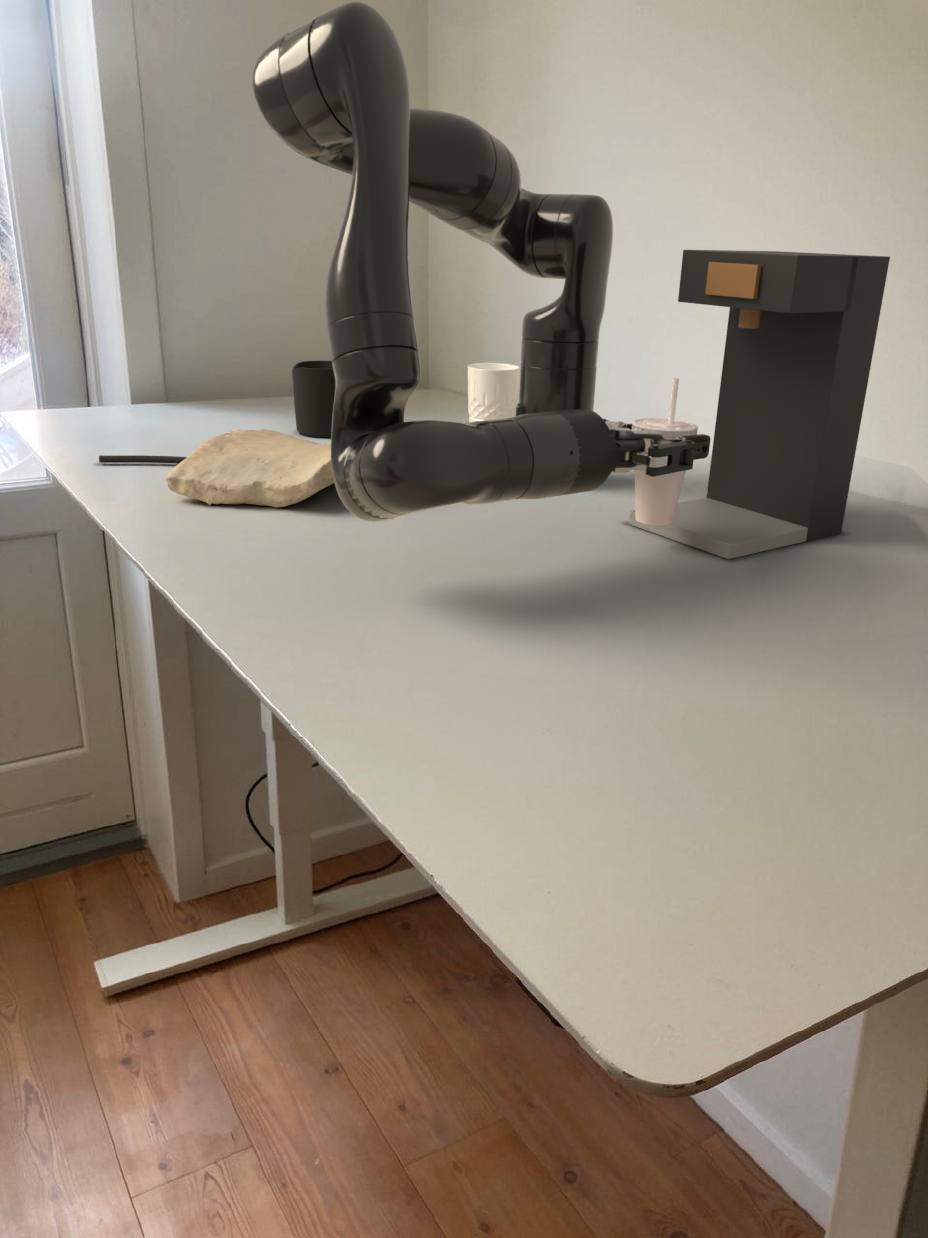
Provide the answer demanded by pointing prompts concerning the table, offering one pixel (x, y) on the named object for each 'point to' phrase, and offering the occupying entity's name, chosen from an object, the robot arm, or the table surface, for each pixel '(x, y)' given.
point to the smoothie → (661, 491)
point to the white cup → (492, 391)
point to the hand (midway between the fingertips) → (679, 438)
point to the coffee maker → (781, 395)
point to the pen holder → (314, 397)
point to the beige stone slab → (253, 469)
